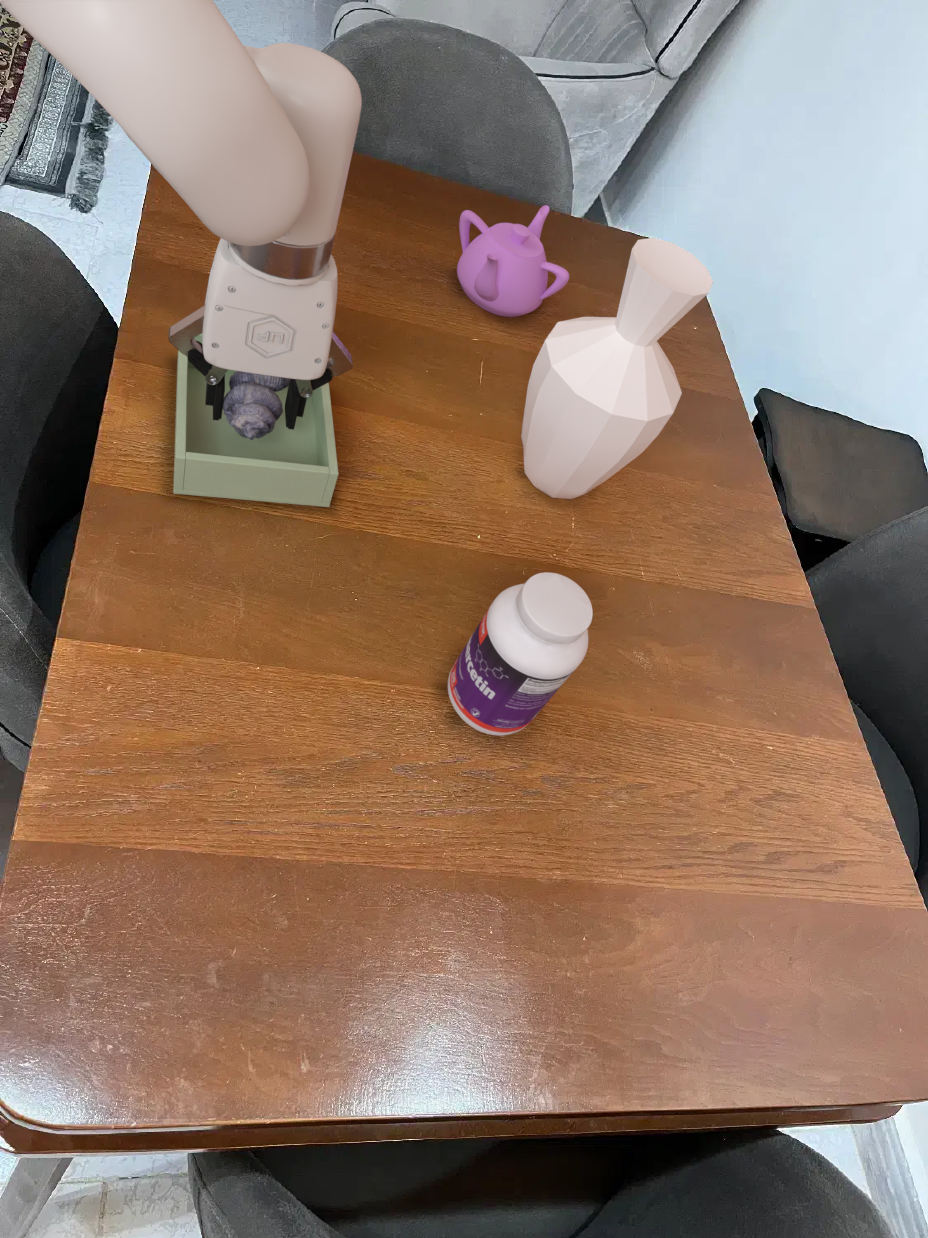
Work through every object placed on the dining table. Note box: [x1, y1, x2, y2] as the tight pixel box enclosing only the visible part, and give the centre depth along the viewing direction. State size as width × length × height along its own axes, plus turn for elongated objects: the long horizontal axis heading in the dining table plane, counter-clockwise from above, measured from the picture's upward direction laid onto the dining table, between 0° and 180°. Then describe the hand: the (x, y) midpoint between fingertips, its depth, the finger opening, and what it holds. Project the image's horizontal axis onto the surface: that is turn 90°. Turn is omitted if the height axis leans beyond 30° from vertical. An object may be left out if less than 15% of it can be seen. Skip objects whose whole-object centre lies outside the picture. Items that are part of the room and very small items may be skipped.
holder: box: [172, 333, 340, 508], centre depth 77 cm, size 14×17×4 cm
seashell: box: [223, 371, 290, 440], centre depth 76 cm, size 5×5×10 cm
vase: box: [520, 237, 714, 500], centre depth 81 cm, size 14×14×25 cm
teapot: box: [456, 204, 570, 318], centre depth 102 cm, size 12×14×9 cm
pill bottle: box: [447, 571, 594, 737], centre depth 66 cm, size 8×8×14 cm
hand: (253, 412), depth 77 cm, fingers closed on seashell, 5 cm apart
